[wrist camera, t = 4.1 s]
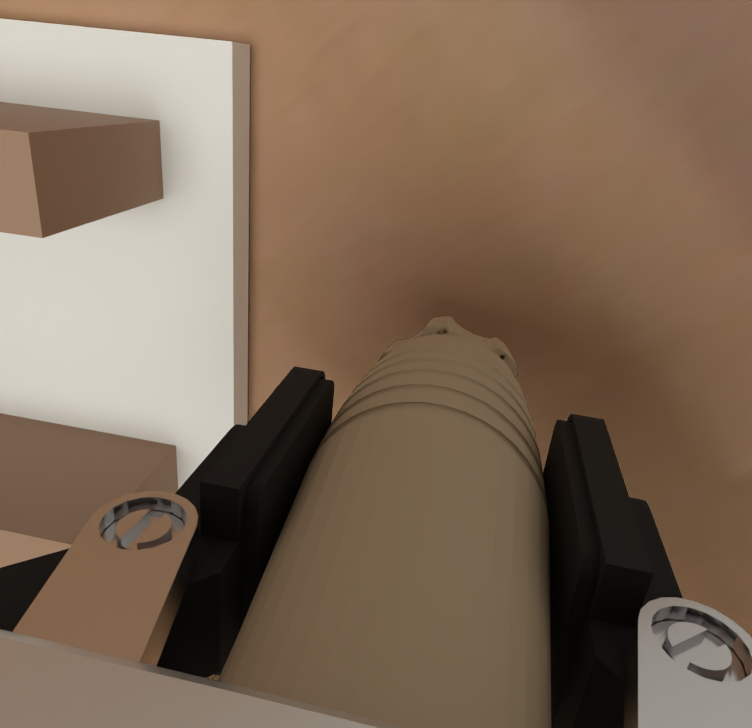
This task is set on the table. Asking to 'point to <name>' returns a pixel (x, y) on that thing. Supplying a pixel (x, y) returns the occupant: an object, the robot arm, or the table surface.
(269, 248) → the table surface
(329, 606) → the handle
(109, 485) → the white base with blocks
